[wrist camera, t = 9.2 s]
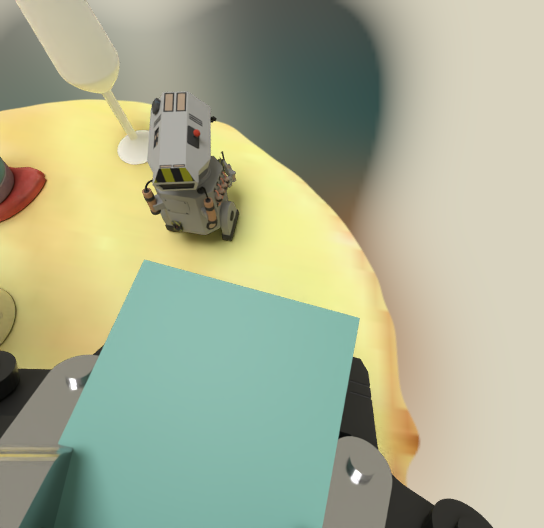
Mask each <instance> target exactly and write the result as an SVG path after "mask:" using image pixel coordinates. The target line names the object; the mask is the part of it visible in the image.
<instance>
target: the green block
mask: <svg viewBox="0 0 544 528" xmlns="http://www.w3.org/2000/svg"><path fill="white" fill-rule="evenodd" d="M359 319H360V318H357V317H354V316H350V315H346V314H343V313H339V312H335V311H332V310H328V309H324V308H321V307H317V306H313V305H310V304H306V303H302V302H299V301H295V300H291V299H287V298H284V297H280V296H276V295H273V294H269V293H265V292H262V291H258V290H254V289H251V288H247V287H243V286H240V285H236V284H232V283H229V282H225V281H221V280H218V279H214V278H210V277H207V276H203V275H199V274H196V273H192V272H188V271H185V270H181V269H177V268H173V267H170V266H166V265H162V264H159V263H155V262H151V261H148V260H144V261H143V263H142V265H141V268H140V270H139V272H138V274H137V276H136V278H135V280H134V282H133V285H132V287H131V289H130V291H129V293H128V295H127V297H126V300H125V302H124V304H123V306H122V308H121V310H120V312H119V314H118V317H117V319H116V321H115V323H114V325H113V327H112V329H111V331H110V334H109V336H108V338H107V340H106V342H105V344H104V346H103V348H102V351H101V353H100V355H99V357H98V359H97V361H96V363H95V365H94V368H93V370H92V372H91V374H90V376H89V378H88V380H87V383H86V385H85V387H84V389H83V391H82V393H81V395H80V397H79V400H78V402H77V404H76V406H75V408H74V410H73V412H72V414H71V417H70V419H69V421H68V423H67V425H66V427H65V429H64V431H63V434H62V436H61V438H60V440H59V442H58V444H60V445H64V446H68V447H72V448H73V452H72V456H71V460H70V464H69V468H68V472H67V476H66V481H65V485H64V489H63V493H62V497H61V501H60V505H59V509H58V513H57V517H56V521H55V525H54V528H322V526H323V520H324V515H325V509H326V504H327V498H328V492H329V487H330V481H331V476H332V470H333V464H334V459H335V453H336V448H337V442H338V437H339V431H340V425H341V420H342V414H343V409H344V403H345V397H346V392H347V386H348V381H349V375H350V370H351V364H352V358H353V353H354V347H355V342H356V336H357V330H358V325H359Z"/></svg>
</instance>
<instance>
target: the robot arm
mask: <svg viewBox="0 0 544 528" xmlns="http://www.w3.org/2000/svg"><path fill="white" fill-rule="evenodd" d="M14 319H15V305H14V301H13V299H12V297H11V296H10V295H9V294H8V293H7V292H6V291H4V290H3V289H1V288H0V344H1V343H2V342H3V341H4V340H5V338H6V337H7V335H8V334H9V332H10V330H11V328H12V326H13V323H14ZM103 346H104V345H103ZM103 346H102V347H101V348H100V349H99V350H98V351H97V352H96V353H94V354H93V355H81V356H76V357H73V358H70V359H67V360H65V361H63V362H61V363H59V364H58V365H56V366H55V367H54V368H53V369H52V370H45V369H18V367H17V363H16V359H15V357H14V356H13V355H12V354H10V353H8V352H5V351H0V528H54V525H55V521H56V517H57V513H58V509H59V505H60V501H61V497H62V493H63V489H64V485H65V481H66V476H67V472H68V468H69V464H70V460H71V456H72V452H73V448H72V447H68V446H64V445H60V444H58V442H59V440H60V438H61V436H62V434H63V431H64V429H65V427H66V425H67V423H68V421H69V419H70V417H71V414H72V412H73V410H74V408H75V406H76V404H77V402H78V400H79V397H80V395H81V393H82V391H83V389H84V387H85V385H86V383H87V380H88V378H89V376H90V374H91V372H92V370H93V368H94V365H95V363H96V361H97V359H98V357H99V355H100V353H101V351H102V348H103ZM369 387H370V383H369V375H368V371H367V369H366V368H365V366H364V364H363V363H362V361H361V359H359V358H355V357H353V358H352V364H351V370H350V375H349V381H348V386H347V392H346V397H345V403H344V409H343V414H342V420H341V425H340V431H339V437H338V442H337V448H336V453H335V459H334V464H333V470H332V476H331V481H330V487H329V492H328V498H327V504H326V509H325V515H324V520H323V526H322V528H493V527H492V526H491V525H490V524H489V522H488V521H487V520H486V519H485V518H484V517H483V516H482V515H480V514H479V513H478V512H477V511H476V510H474V509H473V508H472V507H470V506H468V505H467V504H465V503H463V502H461V501H458V500H454V499H442V500H440V501H438V502H437V503H436V504H435V506H434V505H433V504H431V503H430V502H428V501H427V500H425V499H424V498H422V497H421V496H419V495H418V494H416V493H415V492H413V491H412V490H410V489H409V488H407V487H406V486H405V485H403V484H402V483H401V482H400V481H398V480H397V479H396V478H395V477H394V476H393V475H392V473H391V470H390V468H389V465H388V463H387V461H386V460H385V458H384V457H383V455H382V454H381V453H380V452H379V451H378V446H377V439H376V431H375V423H374V415H373V407H372V400H371V391H370V388H369Z"/></svg>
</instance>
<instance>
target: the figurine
mask: <svg viewBox="0 0 544 528" xmlns="http://www.w3.org/2000/svg"><path fill="white" fill-rule="evenodd" d="M210 115H211V113H210V106H208V105H207V104H205V103H204V102H202V101H201V100H199V99H198V98H197V97H195V96H193V95H192V94H191V93H189V92H163V93H162V95H161V96H160V97H159V99H158V98H156V99H155V100H154V101H153V104H152V108H151V117H150V130H149V143H148V156H147V162H148V164H149V166H150V168H151V169H152V171H153V180H150V181H149V182H148V183H147V184H146V186H145V189H143V191H142V193H143V195H144V198H145V200H146V201H147V203H148V205H149V207H150V209H151V213H152V214H153V215H158V214H159V213H161V216H162V218H163V220H164V222H165V223H166V225H165V226H166V228H167V230H170V231H180V232H182V231H184V232H190V233H196V234H202V235H207V234H209V233H211V232H213V231H215V230H217V229H219V228H221V229H222V232H223V233H222V238H223V240H229V241H232V238H233V234H234V230H235V227H236V223H237V219H238V215H239V211H238V210H237V209H236V206H235V204H234V202H230V201H228V197H227V187H229V188H230V187H231V185H232V182H235V181H236V178H235V174H236V172H235V171H233V170H232V168H231V166H230V164H228V165H227V163H226V162H225V159H224V155H223V151H222V152H221V153H222V156H223V159H222V160H221V158H220V159H218V160H217V159H216V158H215V157H214V156H211V132H210V123H211V122H213V121H216V118H215V117H214V116H213V117H211V116H210ZM211 120H212V121H211ZM224 169H225V170H224ZM225 172H226V174H227V175H228V177H227V176H226V174H225ZM150 182H152V183H153V186H154V187H155V189H156V192H157V195H155V196H154V194H153V193H152V191H151V189H150V188H147V185H148V184H149V183H150Z"/></svg>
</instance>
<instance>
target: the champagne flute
mask: <svg viewBox="0 0 544 528" xmlns="http://www.w3.org/2000/svg"><path fill="white" fill-rule="evenodd" d="M15 1H16V3H17V4H18V6H19V8H20V9H21V11H22V12H23V14H24V16H25V18H26V19H27V21H28V23H29V24H30V26H31V28H32V29H33V31H34V32H35V34H36V36H37V37H38V39H39V41H40V42H41V44H42V46H43V47H44V49H45V51H46V52H47V54H48V56H49V57H50V59H51V60H52V62H53V64H54V66H55V67H56V69H57V70H58V72H59V74H60V75H61V76H62V78H63V79H64V80H66V81H67V82H68V83H70V84H72V85H73V86H75V87H77V88H80V89H82V90H85V91H90V92H94V93H102V95H103V96H104V98H105V100H106V101H107V103H108V104H109V106H110V108H111V109H112V111H113V112H114V114H115V116H116V117H117V119H118V120H119V122H120V124H121V125H122V127H123V129H124V130H125V132H126V133H127V135H126V136H125V137H124V138H123V139H122V140H121V142H120V143H119V145H118V155H119V157H120V158H121V159H122V160H123V161H124V162H126V163H129V164H142V163H145V162H147V156H148V143H149V131H148V130H139V131H134V129H133V127H132V126H131V124H130V122H129V120H128V119H127V117H126V115H125V114H124V112H123V110H122V108H121V107H120V105H119V103H118V102H117V100H116V98H115V96H114V95H113V93H112V91H111V90H110V89H111V88H112V87H113V85H114V83H115V81H116V79H117V76H118V72H119V57H118V53H117V51H116V49H115V48H114V46H113V44H112V43H111V41H110V39H109V38H108V36H107V34H106V33H105V31H104V29H103V28H102V26H101V24H100V22H99V21H98V19H97V17H96V16H95V14H94V12H93V11H92V9H91V7H90V6H89V4H88V3H87V1H86V0H15Z"/></svg>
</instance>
